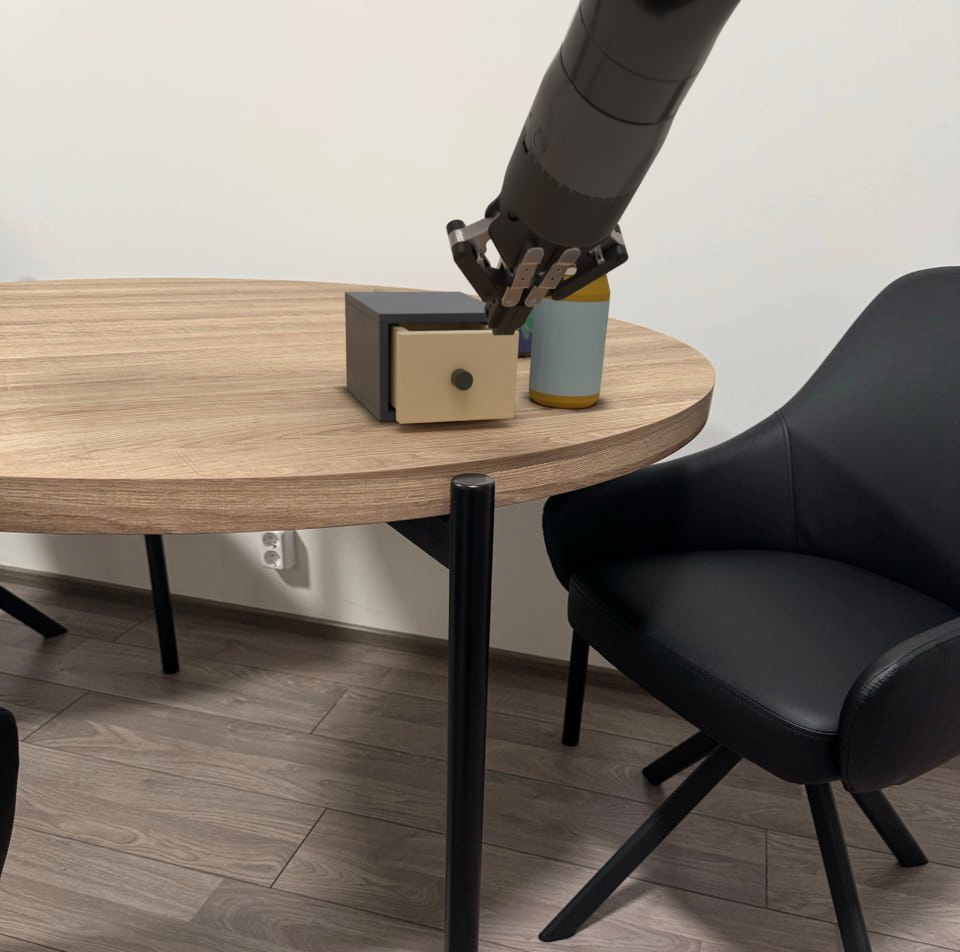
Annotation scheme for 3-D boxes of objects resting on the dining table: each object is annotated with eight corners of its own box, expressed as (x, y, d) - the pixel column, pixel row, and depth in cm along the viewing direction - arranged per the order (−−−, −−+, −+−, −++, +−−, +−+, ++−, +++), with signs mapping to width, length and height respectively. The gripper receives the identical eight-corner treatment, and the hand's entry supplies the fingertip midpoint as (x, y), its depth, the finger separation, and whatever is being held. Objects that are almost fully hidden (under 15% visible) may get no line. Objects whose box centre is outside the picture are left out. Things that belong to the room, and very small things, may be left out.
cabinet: (502, 415, 86) (508, 312, 82) (379, 422, 83) (379, 313, 78) (457, 384, 97) (460, 291, 93) (346, 388, 93) (344, 291, 89)
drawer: (519, 421, 81) (525, 334, 78) (403, 427, 78) (404, 336, 75) (469, 388, 92) (472, 309, 88) (365, 392, 88) (364, 310, 85)
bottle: (513, 399, 92) (524, 233, 85) (557, 389, 97) (571, 231, 90) (569, 413, 88) (585, 241, 81) (612, 402, 93) (631, 238, 86)
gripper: (673, 95, 57) (568, 282, 72) (466, 78, 52) (403, 281, 68) (707, 197, 55) (592, 367, 71) (496, 190, 50) (423, 372, 66)
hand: (499, 325), depth 69 cm, fingers closed
